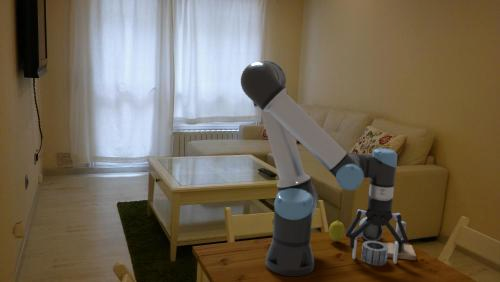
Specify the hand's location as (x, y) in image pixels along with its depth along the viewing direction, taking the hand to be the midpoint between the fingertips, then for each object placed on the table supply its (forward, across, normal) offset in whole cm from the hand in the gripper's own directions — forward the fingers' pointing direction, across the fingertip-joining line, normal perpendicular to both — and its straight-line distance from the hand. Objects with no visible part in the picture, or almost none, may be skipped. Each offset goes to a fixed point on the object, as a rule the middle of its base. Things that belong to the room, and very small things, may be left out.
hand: (374, 259), depth 152 cm
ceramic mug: (0, -1, +19) cm, 19 cm away
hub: (0, 0, 0) cm, 0 cm away
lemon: (0, -12, +12) cm, 17 cm away
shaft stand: (0, +9, +8) cm, 12 cm away
